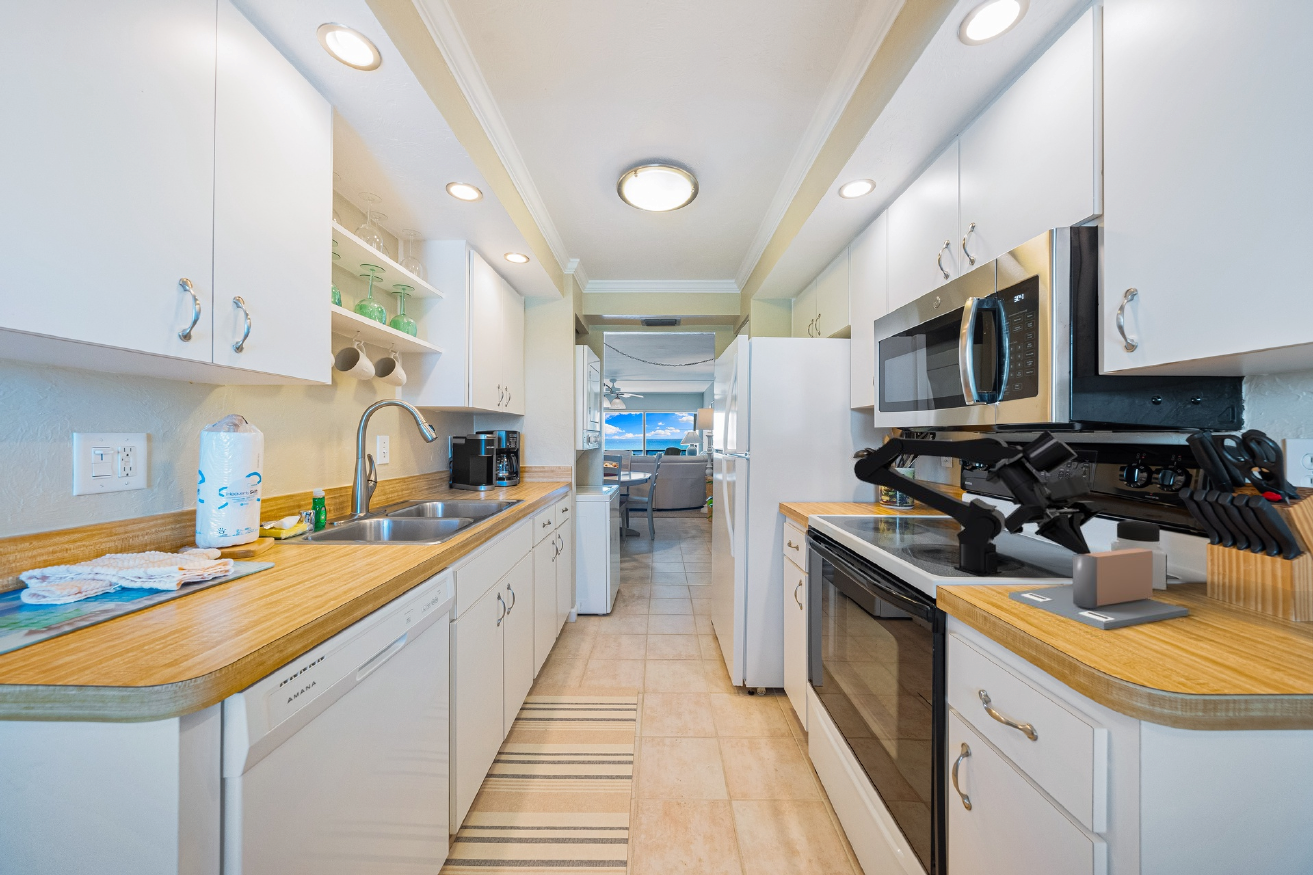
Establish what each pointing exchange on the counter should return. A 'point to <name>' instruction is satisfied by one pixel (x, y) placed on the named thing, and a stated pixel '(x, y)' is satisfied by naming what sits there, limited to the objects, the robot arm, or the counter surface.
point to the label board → (1098, 608)
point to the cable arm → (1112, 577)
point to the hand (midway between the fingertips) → (1087, 555)
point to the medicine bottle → (1144, 546)
